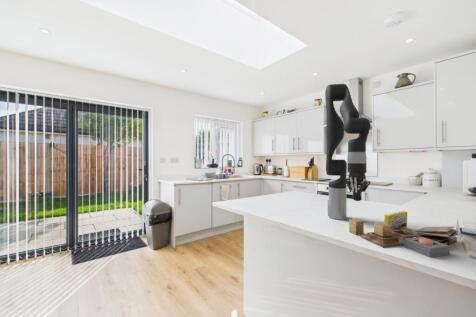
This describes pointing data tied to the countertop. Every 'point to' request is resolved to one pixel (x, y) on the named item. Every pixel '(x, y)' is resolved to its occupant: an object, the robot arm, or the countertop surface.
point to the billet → (356, 226)
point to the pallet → (390, 238)
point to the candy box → (396, 220)
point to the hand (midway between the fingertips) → (356, 200)
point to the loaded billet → (382, 230)
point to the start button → (425, 241)
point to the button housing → (427, 247)
